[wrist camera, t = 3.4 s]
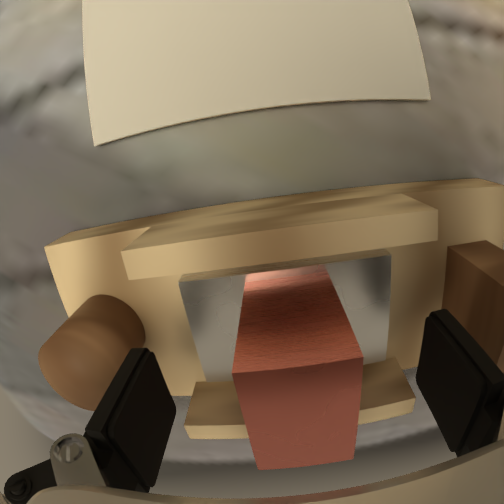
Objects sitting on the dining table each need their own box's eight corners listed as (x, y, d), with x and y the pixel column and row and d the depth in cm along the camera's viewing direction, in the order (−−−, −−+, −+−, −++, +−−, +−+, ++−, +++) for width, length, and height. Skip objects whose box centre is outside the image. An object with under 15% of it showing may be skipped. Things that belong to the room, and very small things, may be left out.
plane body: (477, 178, 13) (581, 211, 6) (464, 324, 16) (527, 401, 9) (70, 232, 15) (-26, 290, 8) (118, 367, 18) (70, 455, 11)
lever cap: (381, 244, 12) (458, 325, 6) (378, 345, 14) (423, 445, 8) (185, 269, 13) (129, 366, 7) (210, 365, 14) (185, 473, 9)
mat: (375, -71, 9) (377, -75, 8) (426, 100, 12) (431, 99, 12) (87, -28, 10) (83, -31, 10) (99, 145, 14) (94, 145, 13)
